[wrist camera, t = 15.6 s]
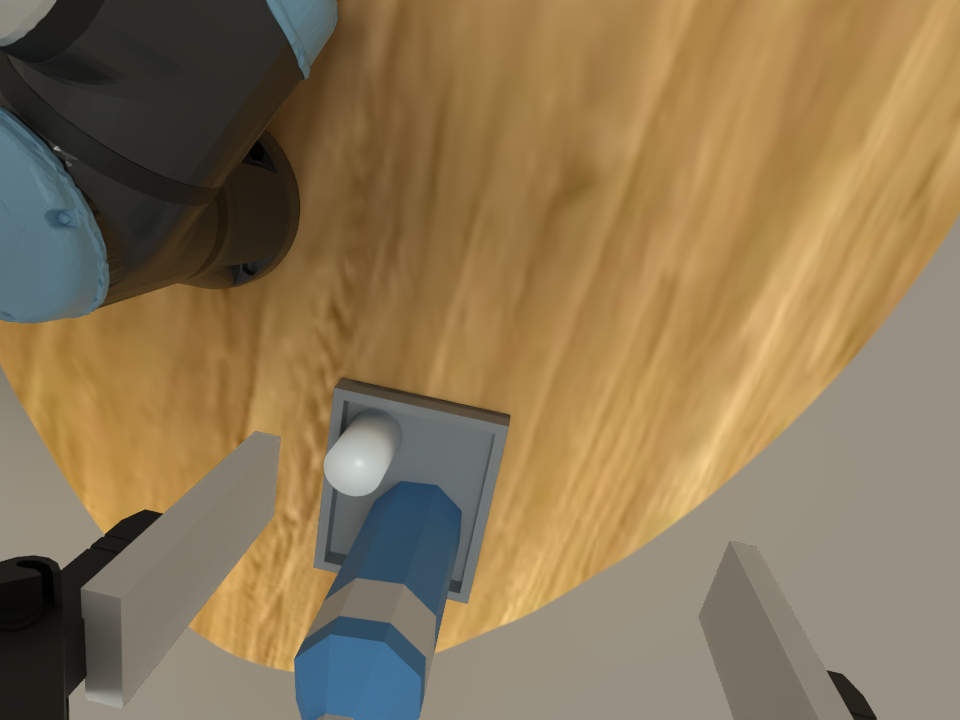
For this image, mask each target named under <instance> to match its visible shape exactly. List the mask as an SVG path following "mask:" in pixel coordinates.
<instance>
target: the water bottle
mask: <svg viewBox="0 0 960 720" xmlns="http://www.w3.org/2000/svg"><path fill="white" fill-rule="evenodd" d="M461 516H462V511H461V510H460V508H459V507H458V506H457V505H456V504H455V503H454V502H453V501H452V500H451V499H450V498H449V497H448V496H447V495H446V494H445V493H444V492H443V490H442V489H441V488H440V487H439V486H438V485H431V484H423V483H415V482H406V481H400V482H399V483H398V484H396V485H395V486H394V487H392V488H391V489H390V490H388V491H387V492H386V493H384V494H383V495H382V496H381V497H379V498H378V499H377V500H375V502H374V504H373V506H372V508H371V510H370V512H369V514H368V516H367V518H366V520H365V522H364V524H363V526H362V528H361V530H360V532H359V533H358V535H357V537H356V539H355V541H354V543H353V545H352V547H351V549H350V551H349V553H348V555H347V557H346V559H345V561H344V563H343V565H342V567H341V569H340V571H339V573H338V575H337V576H336V578H335V580H334V582H333V584H332V586H331V588H330V590H329V592H328V594H327V596H326V598H325V600H324V602H323V604H322V606H321V608H320V610H319V612H318V614H317V616H316V617H315V619H314V621H313V623H312V625H311V627H310V629H309V631H308V633H307V635H306V637H305V639H304V641H303V643H302V645H301V647H300V649H299V651H298V653H297V655H296V657H295V658H294V665H295V688H296V701H297V704H298V707H299V711H300V715H301V718H302V720H417V719H419V717H420V712H421V708H422V704H423V699H424V695H425V691H426V686H427V681H428V678H429V673H430V669H431V665H432V660H433V656H434V651H435V647H436V643H437V638H438V634H439V630H440V625H441V621H442V617H443V612H444V608H445V603H446V599H447V595H448V590H449V586H450V582H451V577H452V573H453V569H454V564H455V560H456V555H457V551H458V547H459V542H460V530H461Z"/></svg>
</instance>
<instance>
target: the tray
mask: <svg viewBox="0 0 960 720" xmlns="http://www.w3.org/2000/svg"><path fill="white" fill-rule="evenodd" d="M369 409H377V410H382V411H385V412H387V413H389V414H390V415H392V416H393V417H394V418H395V419H396V420H397V422H398V423H399V425H400V427H401V431H402V441H401V444H400V446H399V448H398V450H397V452H396V454H395V455H394V457H393V459H392V461H391V463H390V465H389V467H388V469H387V471H386V473H385V474H384V476H383V478H382V480H381V482H380V484H379V486H378V487H377V488H376V489H375V490H374V491H373V492H371V493H369V494H367V495H364V496H349V495H346V494H343V493H341V492H340V491H338V490H337V489H335V488H334V487H333V486H332V485H331V484H330V483H329V481H328V480H327V478H326V475H325V472H324V481H323V490H322V498H321V507H320V516H319V524H318V533H317V542H316V550H315V559H314V568H318V569H322V570H327V571H331V572H335V573H339V571H340V569H341V567H342V565H343V563H344V561H345V559H346V557H347V555H348V553H349V551H350V549H351V547H352V545H353V543H354V541H355V539H356V537H357V535H358V533H359V532H360V530H361V528H362V526H363V524H364V522H365V520H366V518H367V516H368V514H369V512H370V510H371V508H372V506H373V504H374V502H375V500H377V499H378V498H379V497H381V496H382V495H383V494H384V493H386V492H387V491H388V490H390V489H391V488H392V487H394V486H395V485H396V484H398V483H399V482H400V481H406V482H415V483H423V484H431V485H438V486H439V487H440V488H441V489H442V490H443V492H444V493H445V494H446V495H447V496H448V497H449V498H450V499H451V500H452V501H453V502H454V503H455V504H456V505H457V506H458V507H459V508H460V510H461V511H462V516H461V530H460V542H459V547H458V551H457V555H456V560H455V564H454V569H453V573H452V577H451V582H450V586H449V590H448V595H447V599H450V600H454V601H458V602H462V603H467V604H468V600H469V596H470V592H471V587H472V583H473V579H474V574H475V570H476V566H477V561H478V557H479V553H480V549H481V544H482V540H483V536H484V531H485V527H486V523H487V518H488V514H489V510H490V505H491V501H492V497H493V492H494V488H495V484H496V479H497V475H498V471H499V466H500V462H501V458H502V453H503V449H504V445H505V440H506V436H507V432H508V427H509V421H510V415H507V414H503V413H498V412H494V411H489V410H485V409H480V408H476V407H471V406H467V405H462V404H458V403H453V402H449V401H444V400H440V399H435V398H431V397H426V396H422V395H417V394H413V393H408V392H404V391H399V390H395V389H390V388H386V387H381V386H377V385H372V384H368V383H363V382H359V381H354V380H350V379H345V378H343V379H342V380H341V381H340V382H339V383H338V384H337V385H336V386H335V387H334V394H333V403H332V411H331V420H330V429H329V437H328V446H327V454H328V452H329V451H330V450H331V448H332V447H333V446H334V444H335V443H336V442H337V441H338V439H339V438H340V437H341V435H342V434H343V433H344V431H345V430H346V429H347V427H348V426H349V425H350V424H351V422H352V421H353V420H354V418H355V417H356V416H357V415H358V414H359V413H361V412H363V411H365V410H369Z"/></svg>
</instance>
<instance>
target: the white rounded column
mask: <svg viewBox="0 0 960 720" xmlns="http://www.w3.org/2000/svg"><path fill="white" fill-rule="evenodd" d="M401 441H402V431H401V427H400V425H399V423H398V422H397V420H396V419H395V418H394V417H393V416H392V415H390V414H389V413H387V412H385V411H382V410H377V409H369V410H365V411H363V412H361V413H359V414H358V415H357V416H356V417H355V418H354V420H353V421H352V422H351V424H350V425H349V426H348V427H347V429H346V430H345V431H344V433H343V434H342V435H341V437H340V438H339V439H338V441H337V442H336V443H335V444H334V446H333V447H332V448H331V450H330V451H329V452H328V454H327V455H326V457H325V460H324V472H325V475H326V478H327V480H328V481H329V483H330V484H331V485H332V486H333V487H334V488H335V489H337V490H338V491H340V492H341V493H343V494H346V495H349V496H364V495H367V494H369V493H371V492H373V491H374V490H375V489H376V488H377V487H378V486H379V484H380V482H381V480H382V478H383V476H384V474H385V473H386V471H387V469H388V467H389V465H390V463H391V461H392V459H393V457H394V455H395V454H396V452H397V450H398V448H399V446H400V444H401Z"/></svg>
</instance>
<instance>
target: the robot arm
mask: <svg viewBox="0 0 960 720" xmlns="http://www.w3.org/2000/svg"><path fill="white" fill-rule="evenodd" d="M336 24H337V2H336V0H0V320H4V321H8V322H19V323H42V322H47V321H53V320H59V319H64V318H76V317H81V316H84V315H87V314H90V312H93V311H95V310H96V309H98V308H101V307H104V306H107V305H110V304H113V303H117V302H120V301H123V300H126V299H129V298H132V297H135V296H139V295H142V294H145V293H148V292H151V291H154V290H157V289H161V288H164V287H167V286H170V285H173V284H176V283H180V284H185V285H190V286H195V287H200V288H207V289H225V288H232V287H237V286H240V285H243V284H246V283H248V282H251V281H254V280H256V279H258V278H260V277H262V276H264V275H266V274H267V273H269V272H270V271H271V270H273V269H274V268H275V267H276V266H277V265H278V264H279V263H280V262H281V261H282V260H283V258H284V257H285V256H286V254H287V253H288V251H289V249H290V247H291V245H292V243H293V241H294V238H295V235H296V232H297V228H298V222H299V211H300V206H299V194H298V188H297V184H296V180H295V177H294V174H293V171H292V168H291V166H290V164H289V162H288V160H287V158H286V156H285V154H284V153H283V151H282V149H281V148H280V147H279V145H278V144H277V142H276V141H275V140H274V139H273V138H272V136H271V135H270V134H269V133H268V132H267V131H266V130H265V129H266V127H267V126H268V124H269V123H270V122H271V120H272V119H273V118H274V116H275V115H276V113H277V112H278V111H279V109H280V108H281V107H282V105H283V104H284V103H285V101H286V100H287V98H288V97H289V96H290V94H291V93H292V92H293V90H294V89H295V87H296V86H297V85H298V83H299V82H300V81H301V79H302V80H303V81H305V80H306V79H307V78H308V77H309V74H310V67H311V65H312V64H313V62H314V61H315V59H316V58H317V56H318V55H319V53H320V52H321V50H322V48H323V47H324V45H325V44H326V42H327V41H328V39H329V38H330V36H331V35H332V33H333V31H334V29H335V26H336ZM280 439H281V437H280V436H275V435H271V434H267V433H262V432H258V431H255V432H254V433H252V434H251V435H250V436H249V437H248V438H247V439H246V440H245V441H244V442H242V443H241V444H240V445H239V446H238V447H237V448H236V449H235V450H234V451H233V452H231V453H230V454H229V455H228V456H227V457H226V458H225V459H224V460H223V461H221V462H220V463H219V464H218V465H217V466H216V467H215V468H214V469H213V470H211V471H210V472H209V473H208V474H207V475H206V476H205V477H204V478H203V479H201V480H200V481H199V482H198V483H197V484H196V485H195V486H194V487H193V488H192V489H190V490H189V491H188V492H187V493H186V494H185V495H184V496H183V497H182V498H180V499H179V500H178V501H177V502H176V503H175V504H174V505H173V506H172V507H170V508H169V509H168V510H167V511H166V512H165V513H164V514H162V513H158V512H154V511H150V510H146V509H145V510H143V511H141V512H138V513H136V514H134V515H132V516H129V517H127V518H125V519H123V520H121V521H120V522H119V523H118V524H116V525H115V526H114V527H113V528H112V529H110V530H109V531H108V532H107V533H106V534H105V536H104V537H101V538H100V539H98V540H97V541H96V542H95V543H94V544H92V545H91V548H90V549H86V550H85V551H84V552H83V553H82V554H80V555H79V556H78V557H77V558H76V559H74V560H73V561H72V562H71V563H69V564H68V565H67V566H66V567H65V568H63V569H62V570H60V568H59V565H58V563H57V562H55V561H53V560H52V559H50V558H47V557H41V556H23V557H16V558H12V559H8V560H5V561H1V562H0V720H69V697H68V696H69V695H70V694H71V693H72V692H73V690H74V689H75V688H76V687H77V686H78V685H79V684H80V683H81V682H82V681H83V679H84V678H85V689H86V690H85V692H86V700H90V701H94V702H98V703H102V704H106V705H110V706H114V707H118V708H122V709H123V708H124V707H125V705H126V704H127V703H128V702H129V700H130V699H131V698H132V696H133V695H134V694H135V693H136V691H137V690H138V688H139V687H140V686H141V685H142V684H143V682H144V681H145V680H146V679H147V677H148V676H149V675H150V673H151V672H152V671H153V670H154V668H155V667H156V666H157V665H158V663H159V662H160V661H161V659H162V658H163V657H164V655H165V654H166V653H167V652H168V650H169V649H170V648H171V646H172V645H173V644H174V643H175V642H176V640H177V639H178V637H179V636H180V635H181V634H182V633H183V631H184V630H185V629H186V627H187V626H188V625H189V624H190V622H191V621H192V620H193V619H194V617H195V616H196V615H197V613H198V612H199V611H200V610H201V608H202V607H203V606H204V604H205V603H206V602H207V601H208V599H209V598H210V597H211V596H212V594H213V593H214V592H215V590H216V589H217V588H218V587H219V585H220V584H221V583H222V581H223V580H224V579H225V578H226V576H227V575H228V574H229V573H230V571H231V570H232V569H233V567H234V566H235V565H236V564H237V562H238V561H239V560H240V558H241V557H242V556H243V555H244V553H245V552H246V551H247V550H248V548H249V547H250V546H251V544H252V543H253V542H254V541H255V539H256V538H257V537H258V535H259V534H260V533H261V532H262V530H263V529H264V528H265V527H266V525H267V524H268V523H269V521H270V520H271V519H272V518H273V516H274V506H275V495H276V484H277V473H278V461H279V450H280ZM699 619H700V622H701V625H702V628H703V631H704V634H705V637H706V640H707V643H708V646H709V648H710V651H711V654H712V657H713V660H714V663H715V666H716V669H717V672H718V675H719V678H720V681H721V683H722V686H723V689H724V692H725V695H726V698H727V701H728V704H729V707H730V709H731V713H732V715H733V719H734V720H877V718H876V716H875V714H874V713H873V711H872V709H871V708H870V706H869V704H868V703H867V701H866V699H865V698H864V696H863V695H862V694H861V693H860V692H859V691H858V690H857V689H856V688H855V687H854V685H852V684H851V682H850V681H849V680H848V679H846V677H845V676H844V675H843V674H840V673H836V672H832V671H827V670H826V669H825V667H824V666H823V664H822V662H821V660H820V658H819V657H818V655H817V653H816V651H815V650H814V648H813V646H812V644H811V642H810V641H809V639H808V637H807V635H806V634H805V632H804V630H803V628H802V626H801V625H800V623H799V621H798V619H797V618H796V616H795V614H794V612H793V610H792V609H791V607H790V605H789V603H788V601H787V600H786V598H785V596H784V594H783V593H782V591H781V589H780V587H779V586H778V584H777V582H776V580H775V578H774V577H773V575H772V573H771V571H770V569H769V568H768V566H767V564H766V562H765V560H764V559H763V557H762V555H761V553H760V551H759V550H758V548H757V547H756V546H752V545H747V544H743V543H738V542H734V541H729V544H728V546H727V549H726V551H725V553H724V556H723V558H722V561H721V563H720V566H719V568H718V570H717V573H716V575H715V578H714V580H713V583H712V585H711V588H710V590H709V593H708V595H707V598H706V600H705V602H704V605H703V607H702V610H701V612H700V614H699Z"/></svg>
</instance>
